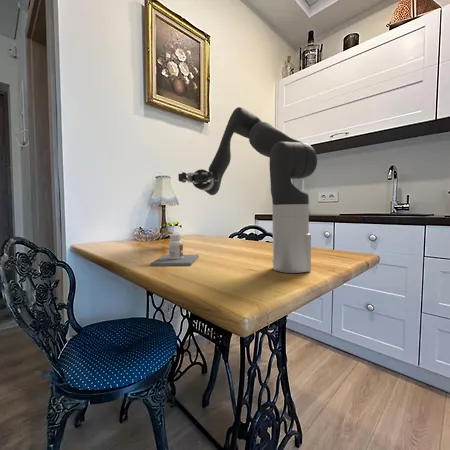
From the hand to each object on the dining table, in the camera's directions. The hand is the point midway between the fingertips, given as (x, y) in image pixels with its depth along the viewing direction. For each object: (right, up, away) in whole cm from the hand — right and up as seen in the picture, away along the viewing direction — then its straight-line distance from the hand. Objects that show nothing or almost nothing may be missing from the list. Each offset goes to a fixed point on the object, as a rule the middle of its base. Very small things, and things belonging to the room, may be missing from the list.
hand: (195, 175), depth 86 cm
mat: (-6, -28, -3) cm, 29 cm away
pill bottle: (-6, -28, -3) cm, 29 cm away
